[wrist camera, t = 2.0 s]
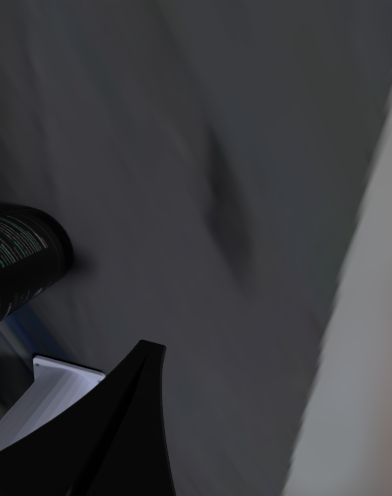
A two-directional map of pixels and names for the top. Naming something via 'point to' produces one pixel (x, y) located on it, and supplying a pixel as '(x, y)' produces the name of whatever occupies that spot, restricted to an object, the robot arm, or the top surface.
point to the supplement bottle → (30, 256)
